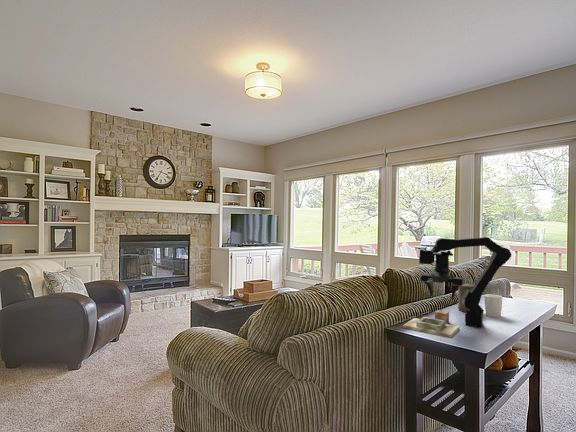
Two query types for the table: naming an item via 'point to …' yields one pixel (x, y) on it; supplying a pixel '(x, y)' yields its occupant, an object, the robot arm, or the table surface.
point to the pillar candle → (460, 293)
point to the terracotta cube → (442, 315)
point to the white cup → (493, 305)
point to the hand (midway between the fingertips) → (442, 297)
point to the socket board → (432, 326)
